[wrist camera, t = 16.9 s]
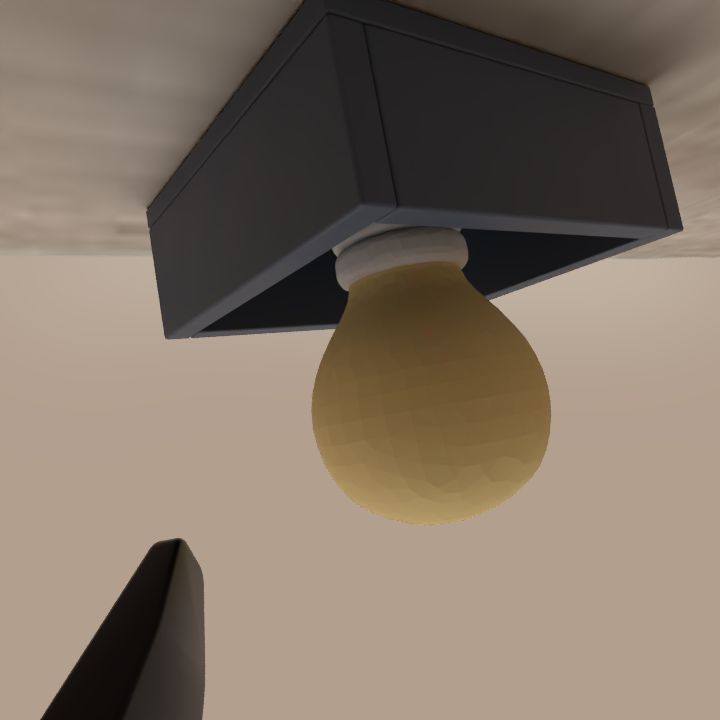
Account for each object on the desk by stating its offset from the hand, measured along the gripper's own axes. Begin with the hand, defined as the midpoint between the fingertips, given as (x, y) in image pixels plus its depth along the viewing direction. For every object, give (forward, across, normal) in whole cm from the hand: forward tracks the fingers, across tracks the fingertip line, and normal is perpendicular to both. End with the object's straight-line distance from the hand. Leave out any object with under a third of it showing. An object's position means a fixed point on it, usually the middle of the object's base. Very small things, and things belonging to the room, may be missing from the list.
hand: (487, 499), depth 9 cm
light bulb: (+12, 0, 0) cm, 12 cm away
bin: (+12, 0, -1) cm, 12 cm away
